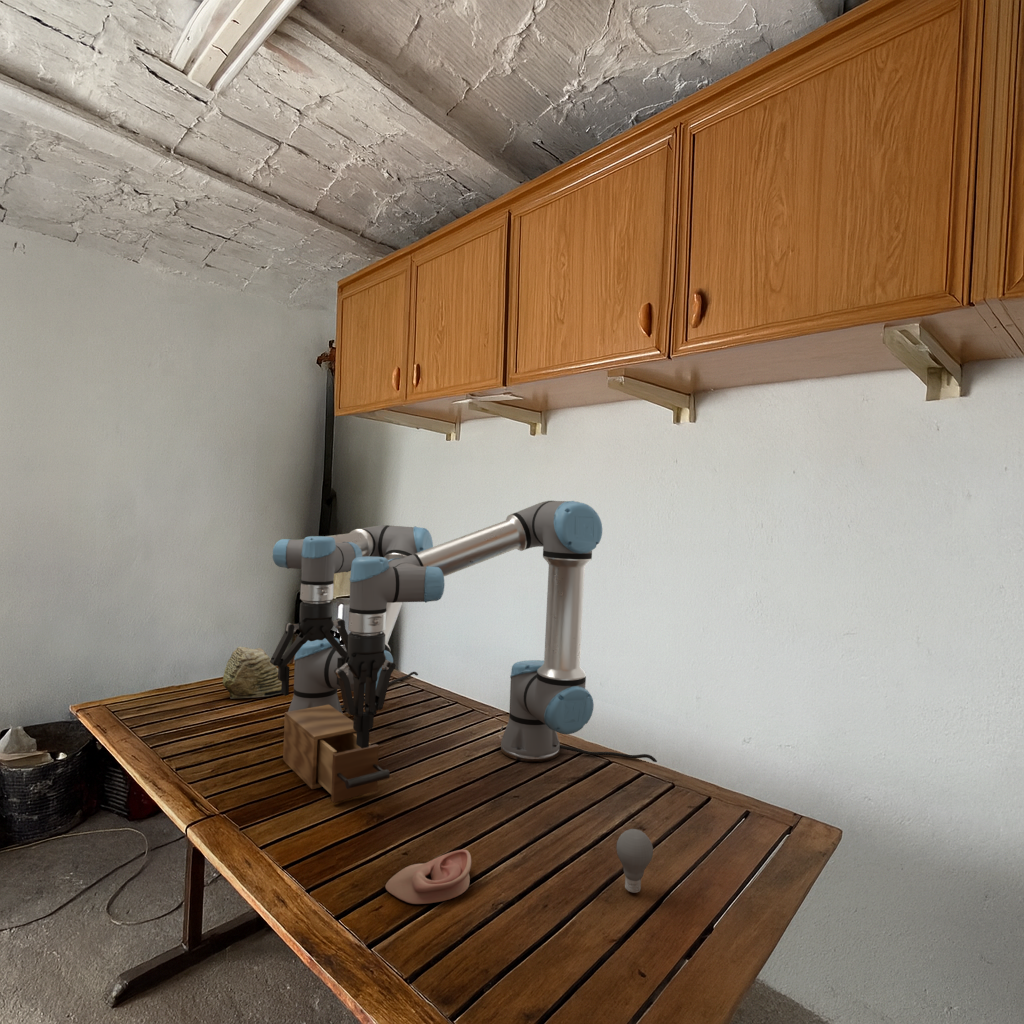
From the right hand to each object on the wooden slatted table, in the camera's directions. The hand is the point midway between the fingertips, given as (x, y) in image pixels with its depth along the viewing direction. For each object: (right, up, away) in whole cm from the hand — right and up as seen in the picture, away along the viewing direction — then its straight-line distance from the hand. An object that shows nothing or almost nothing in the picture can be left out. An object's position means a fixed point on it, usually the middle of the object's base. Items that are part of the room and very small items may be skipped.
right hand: (362, 745), depth 131 cm
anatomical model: (+17, -14, -26) cm, 34 cm away
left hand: (-17, +6, +21) cm, 27 cm away
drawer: (-5, -11, +6) cm, 14 cm away
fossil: (-50, -9, +67) cm, 84 cm away
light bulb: (+51, -15, -25) cm, 59 cm away
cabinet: (-14, -12, +17) cm, 24 cm away
